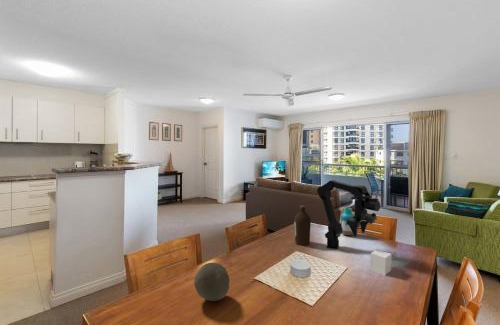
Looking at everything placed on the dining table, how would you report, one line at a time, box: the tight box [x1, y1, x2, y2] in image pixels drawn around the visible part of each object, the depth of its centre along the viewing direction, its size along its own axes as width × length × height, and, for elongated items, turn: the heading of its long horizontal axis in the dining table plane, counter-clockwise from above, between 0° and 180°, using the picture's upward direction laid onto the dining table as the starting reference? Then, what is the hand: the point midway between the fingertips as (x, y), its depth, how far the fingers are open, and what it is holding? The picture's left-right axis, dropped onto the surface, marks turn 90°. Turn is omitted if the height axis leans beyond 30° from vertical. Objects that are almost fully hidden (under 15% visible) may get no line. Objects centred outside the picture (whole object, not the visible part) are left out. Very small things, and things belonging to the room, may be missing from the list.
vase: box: [339, 207, 355, 236], centre depth 179 cm, size 11×11×19 cm
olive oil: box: [293, 205, 312, 247], centre depth 164 cm, size 11×11×25 cm
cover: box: [369, 249, 393, 277], centre depth 126 cm, size 7×7×9 cm
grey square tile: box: [391, 254, 412, 269], centre depth 138 cm, size 14×14×1 cm
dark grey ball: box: [193, 262, 231, 302], centre depth 103 cm, size 14×14×15 cm
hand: (359, 234), depth 142 cm, fingers open, 9 cm apart
